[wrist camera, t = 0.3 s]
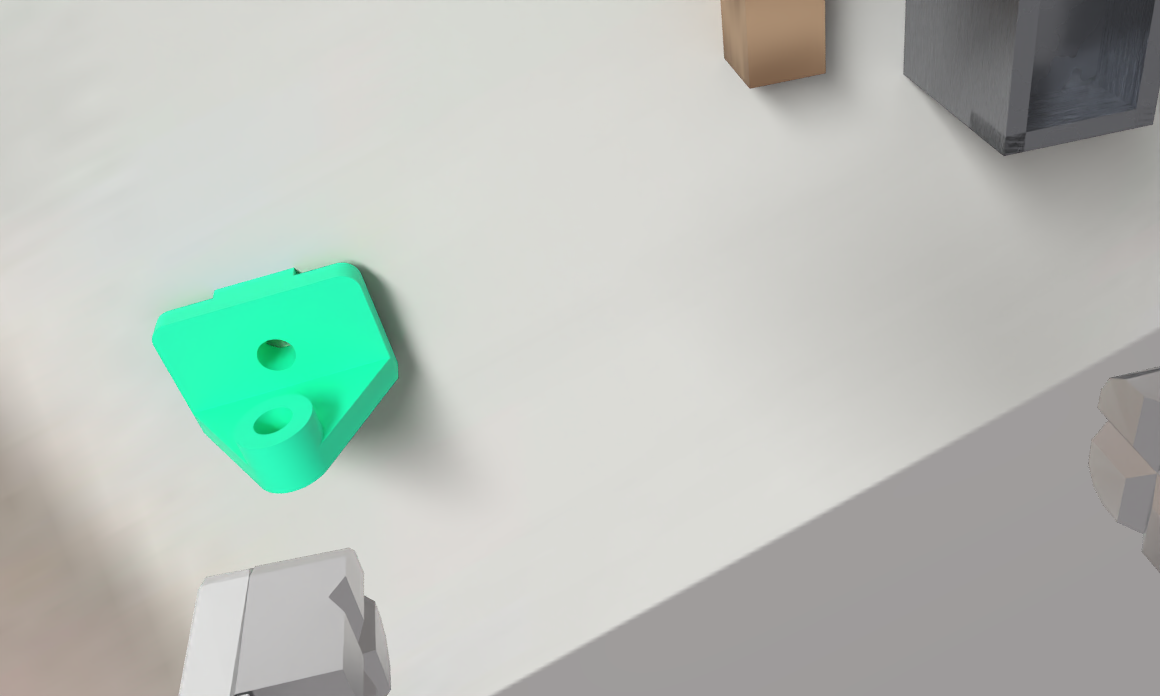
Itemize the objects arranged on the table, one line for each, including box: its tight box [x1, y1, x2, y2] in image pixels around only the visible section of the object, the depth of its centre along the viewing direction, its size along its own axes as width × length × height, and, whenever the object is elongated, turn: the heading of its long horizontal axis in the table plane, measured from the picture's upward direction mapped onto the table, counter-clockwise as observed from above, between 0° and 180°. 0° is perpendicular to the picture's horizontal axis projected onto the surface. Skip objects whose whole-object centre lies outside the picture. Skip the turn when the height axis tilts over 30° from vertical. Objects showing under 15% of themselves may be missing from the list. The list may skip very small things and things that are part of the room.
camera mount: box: [152, 263, 398, 493], centre depth 58 cm, size 12×8×10 cm, turn 103°
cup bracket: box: [904, 0, 1160, 156], centre depth 52 cm, size 8×8×12 cm
